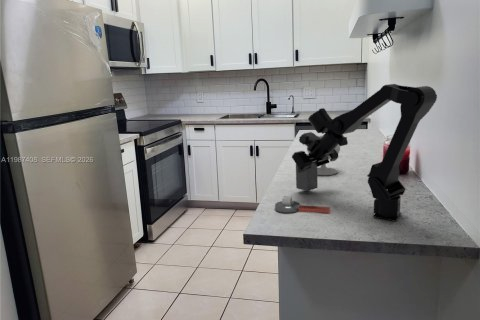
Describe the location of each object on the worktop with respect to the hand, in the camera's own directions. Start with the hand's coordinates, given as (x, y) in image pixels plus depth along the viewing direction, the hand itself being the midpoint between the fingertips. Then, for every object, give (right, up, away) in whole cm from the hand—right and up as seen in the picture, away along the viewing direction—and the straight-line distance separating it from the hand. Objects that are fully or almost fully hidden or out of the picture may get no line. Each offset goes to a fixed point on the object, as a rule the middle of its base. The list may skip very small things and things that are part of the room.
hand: (303, 170), depth 134 cm
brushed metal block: (+1, -7, 0) cm, 7 cm away
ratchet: (-3, -13, -16) cm, 21 cm away
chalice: (+13, -2, +26) cm, 29 cm away
